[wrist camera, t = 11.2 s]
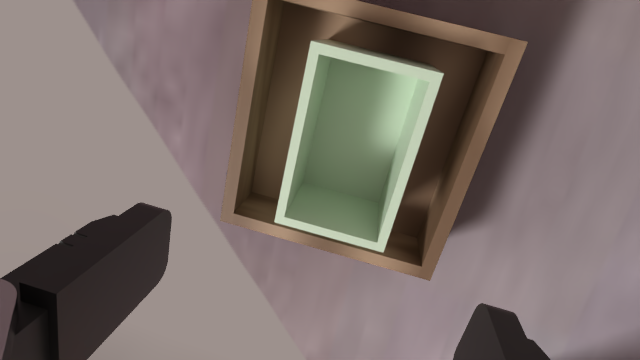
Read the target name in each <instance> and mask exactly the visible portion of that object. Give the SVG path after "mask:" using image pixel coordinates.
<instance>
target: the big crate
mask: <svg viewBox="0 0 640 360" xmlns="http://www.w3.org/2000/svg"><path fill="white" fill-rule="evenodd" d="M324 39H330V40H334V41H338V42H342V43H346V44H350V45H354V46H358V47H362V48H366V49H371V50H375V51H379V52H383V53H387V54H391V55H395V56H399V57H403V58H407V59H411V60H415V61H419V62H423V63H427V64H431V65H432V66H433V67H435V68H436V69H438V70H439V71H441V72H442V73H444V75H443V78H442V81H441V84H440V87H439V90H438V93H437V95H436V98H435V101H434V104H433V107H432V110H431V113H430V116H429V119H428V122H427V125H426V128H425V131H424V134H423V137H422V140H421V143H420V146H419V149H418V152H417V155H416V158H415V161H414V164H413V167H412V170H411V173H410V175H409V178H408V181H407V184H406V187H405V190H404V193H403V196H402V199H401V202H400V205H399V208H398V211H397V214H396V217H395V220H394V223H393V226H392V229H391V232H390V235H389V238H388V241H387V244H386V247H385V250H384V253H383V252H379V251H375V250H372V249H368V248H365V247H361V246H357V245H354V244H350V243H347V242H343V241H340V240H336V239H332V238H329V237H325V236H322V235H318V234H314V233H311V232H307V231H304V230H300V229H297V228H293V227H289V226H286V225H282V224H279V223H275V222H274V221H275V216H276V211H277V206H278V201H279V196H280V191H281V186H282V181H283V176H284V171H285V166H286V161H287V157H288V152H289V147H290V142H291V137H292V132H293V127H294V122H295V117H296V112H297V107H298V102H299V97H300V92H301V87H302V82H303V77H304V73H305V68H306V63H307V58H308V53H309V48H310V43H311V41H314V40H324ZM527 43H528V42H526V41H522V40H518V39H514V38H510V37H505V36H501V35H497V34H493V33H489V32H485V31H481V30H477V29H473V28H468V27H464V26H460V25H456V24H452V23H448V22H444V21H440V20H436V19H431V18H427V17H423V16H419V15H415V14H411V13H407V12H403V11H399V10H394V9H390V8H386V7H382V6H378V5H374V4H370V3H366V2H362V1H357V0H252V6H251V13H250V20H249V27H248V34H247V41H246V47H245V54H244V61H243V68H242V75H241V82H240V89H239V95H238V102H237V109H236V116H235V123H234V130H233V137H232V143H231V150H230V157H229V164H228V171H227V178H226V185H225V191H224V198H223V205H222V212H221V219H220V221H223V222H226V223H230V224H233V225H237V226H240V227H244V228H247V229H251V230H254V231H258V232H261V233H265V234H268V235H272V236H275V237H279V238H282V239H286V240H289V241H293V242H296V243H300V244H303V245H307V246H310V247H314V248H317V249H321V250H324V251H328V252H331V253H335V254H338V255H342V256H345V257H349V258H352V259H356V260H359V261H363V262H366V263H370V264H373V265H377V266H380V267H384V268H387V269H391V270H394V271H398V272H401V273H405V274H408V275H412V276H415V277H419V278H422V279H426V280H429V281H430V279H431V277H432V274H433V272H434V270H435V267H436V265H437V262H438V260H439V257H440V255H441V253H442V250H443V248H444V245H445V243H446V240H447V238H448V236H449V233H450V231H451V228H452V226H453V223H454V221H455V218H456V216H457V214H458V211H459V209H460V206H461V204H462V201H463V199H464V197H465V194H466V192H467V189H468V187H469V184H470V182H471V180H472V177H473V175H474V172H475V170H476V167H477V165H478V163H479V160H480V158H481V155H482V153H483V150H484V148H485V145H486V143H487V141H488V138H489V136H490V133H491V131H492V128H493V126H494V124H495V121H496V119H497V116H498V114H499V111H500V109H501V107H502V104H503V102H504V99H505V97H506V94H507V92H508V90H509V87H510V85H511V82H512V80H513V77H514V75H515V72H516V70H517V68H518V65H519V63H520V60H521V58H522V55H523V53H524V51H525V48H526V46H527Z"/></svg>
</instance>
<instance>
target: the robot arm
mask: <svg viewBox="0 0 640 360" xmlns="http://www.w3.org/2000/svg"><path fill="white" fill-rule="evenodd" d="M171 218H172V217H171V213H170V211H168V210H165V209H162V208H158V207H155V206H152V205H148V204H145V203H138V204H136V205H134V206H133V207H132V208H130V209H128V210H127V211H125V212H124V213H122V214H121V215H119V216H116V215H112V216H108V217H105V218H102V219H99V220H95V221H92V222H90V223H89V224H87V225H86V226H84V227H82V228H81V229H79V230H77V231H76V232H75V233H74V235H70V236H68V237H66V238H65V239H63V240H61V241H60V243H59V244H55V245H53V246H52V247H50V248H49V249H47V250H45V251H44V252H42V253H41V254H39V255H37V256H36V257H34V258H33V259H31V260H29V261H28V262H26V263H25V264H23V265H21V266H20V267H18V268H17V269H15V270H13V271H12V272H10V273H9V274H7V275H5V276H4V277H2V278H0V360H87V359H88V358H89V357H90V356H91V355H92V354H93V352H94V351H95V350H96V349H97V348H98V347H99V346H100V345H101V344H102V343H103V342H104V340H106V339H107V337H108V336H109V335H110V334H111V333H112V332H113V331H114V330H115V329H116V328H117V327H118V326H119V325H120V324H121V322H123V320H124V319H125V318H126V317H127V316H128V315H129V314H130V313H131V312H132V311H133V310H134V309H135V308H136V307H137V305H138V304H139V303H140V302H141V301H142V300H143V299H144V298H145V297H146V296H147V295H148V294H149V293H150V291H151V290H152V289H153V288H154V287H155V286H156V285H157V284H158V283H159V281H160V279H161V278H162V276H163V274H164V272H165V269H166V266H167V262H168V252H169V242H170V231H171ZM453 360H550V359H549V357H548V356H547V355H546V354H545V353H544V352H543V351H542V350H541V348H540V347H539V346H538V345H537V344H536V343H535V342H534V341H533V340H530V339H527V337H526V335H525V333H524V331H523V329H522V326H521V324H520V322H519V320H518V318H517V316H516V314H515V313H513V312H510V311H507V310H504V309H500V308H497V307H493V306H490V305H486V304H483V303H481V304H479V305H478V306H477V307H476V309H475V311H474V313H473V315H472V317H471V319H470V321H469V323H468V325H467V327H466V329H465V332H464V334H463V336H462V338H461V340H460V342H459V344H458V346H457V348H456V351H455V354H454V358H453Z"/></svg>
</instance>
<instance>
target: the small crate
mask: <svg viewBox="0 0 640 360" xmlns="http://www.w3.org/2000/svg"><path fill="white" fill-rule="evenodd" d="M443 75H444V73H442V72H441V71H439V70H438V69H436V68H435V67H433V66H432V65H431V64H427V63H423V62H419V61H415V60H411V59H407V58H403V57H399V56H395V55H391V54H387V53H383V52H379V51H375V50H371V49H366V48H362V47H358V46H354V45H350V44H346V43H342V42H338V41H334V40H330V39H324V40H314V41H311V43H310V48H309V53H308V58H307V63H306V68H305V73H304V77H303V82H302V87H301V92H300V97H299V102H298V107H297V112H296V117H295V122H294V127H293V132H292V137H291V142H290V147H289V152H288V157H287V161H286V166H285V171H284V176H283V181H282V186H281V191H280V196H279V201H278V206H277V211H276V216H275V221H274V222H275V223H279V224H282V225H286V226H289V227H293V228H297V229H300V230H304V231H307V232H311V233H314V234H318V235H322V236H325V237H329V238H332V239H336V240H340V241H343V242H347V243H350V244H354V245H357V246H361V247H365V248H368V249H372V250H375V251H379V252H383V253H384V250H385V247H386V244H387V241H388V238H389V235H390V232H391V229H392V226H393V223H394V220H395V217H396V214H397V211H398V208H399V205H400V202H401V199H402V196H403V193H404V190H405V187H406V184H407V181H408V178H409V175H410V173H411V170H412V167H413V164H414V161H415V158H416V155H417V152H418V149H419V146H420V143H421V140H422V137H423V134H424V131H425V128H426V125H427V122H428V119H429V116H430V113H431V110H432V107H433V104H434V101H435V98H436V95H437V93H438V90H439V87H440V84H441V81H442V78H443Z"/></svg>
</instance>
